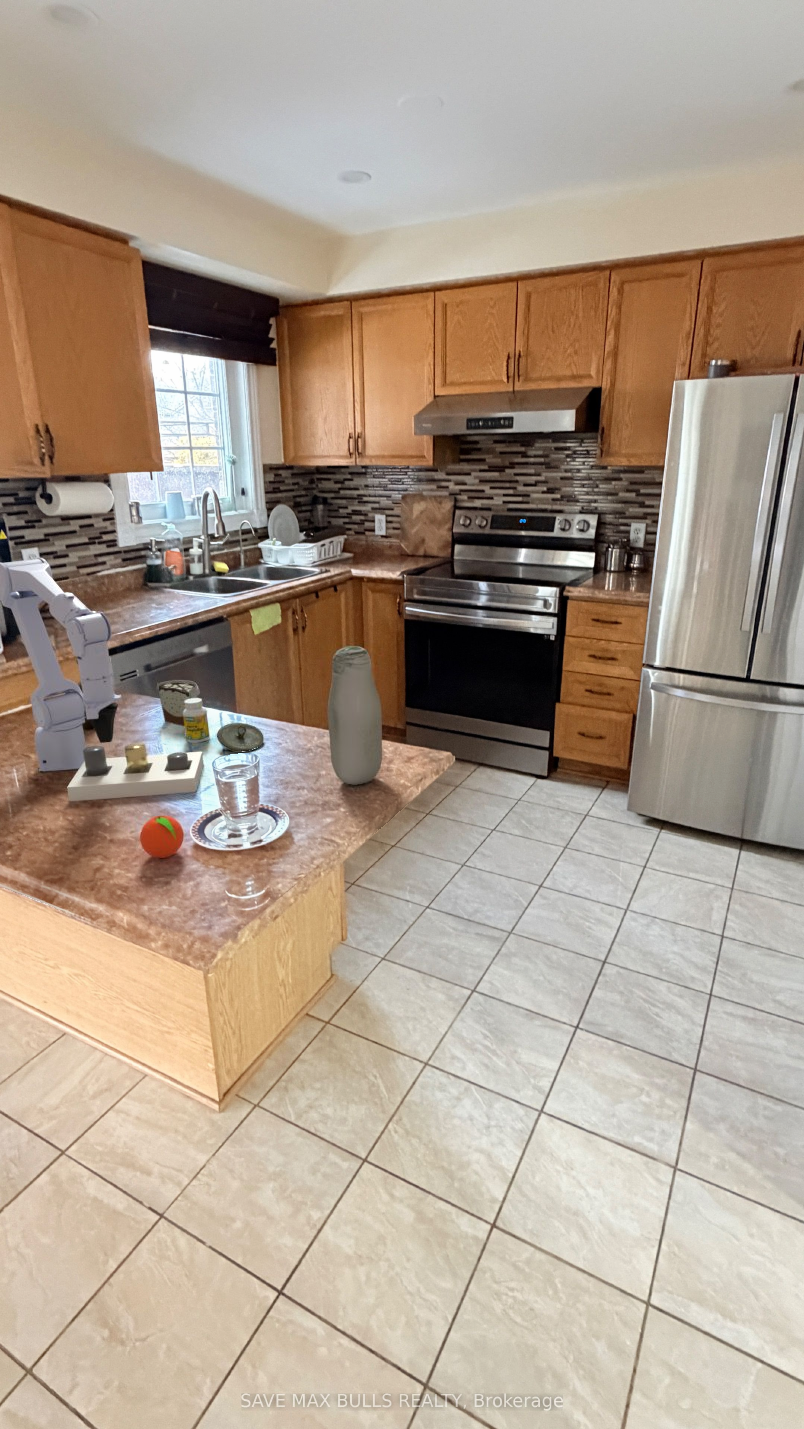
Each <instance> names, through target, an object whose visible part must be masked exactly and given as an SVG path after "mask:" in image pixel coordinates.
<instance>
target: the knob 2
mask: <svg viewBox="0 0 804 1429" xmlns="http://www.w3.org/2000/svg"><path fill="white" fill-rule="evenodd" d="M186 753H187V752H182V751H179V752H173V753H169V754H170V755H168V756H167V761H168V768H169V771H176V770H189V764H188V756H187V754H186Z"/></svg>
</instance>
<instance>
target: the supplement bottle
mask: <svg viewBox="0 0 804 1429" xmlns="http://www.w3.org/2000/svg"><path fill="white" fill-rule="evenodd" d="M184 704H185V707H186V709H185V710H184V711H183V719H184V726H185V727H184V733H185V738H186V741H187V742H188V743H193V744H195V743H196V744H198V743H199V744H200V743H203V742H205V741H208V740H209V739H210V737H211V736H210V728H209V720H208V719H209V718H208V712H207V709H206V707H204V706H203V705H204V704H203V700H202V698H199V697H197V698H191V699H187V700H185V701H184Z"/></svg>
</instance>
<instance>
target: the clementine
mask: <svg viewBox="0 0 804 1429" xmlns="http://www.w3.org/2000/svg"><path fill="white" fill-rule="evenodd" d="M184 833H185V832H184V831H183V827H182V825H181V824H180V822H179V821H178V820H176V819H175V818H174V817H172V816H168V815H161V814H160V815H156V816H153V817H151V818H150V819H149V820H147V821H146V822H145V823H144V825H143V827H142V828H141V831H140V834H139V841H140V844H141V847H142V849H143V850H144V852H146V854H148V855H149V856H151V857H154V858H158V859H164V858H169V857H171V856H172V855H174V854H176V853H177V852H178V851H179V849H180V848H181V847H182V845H183V842H184Z"/></svg>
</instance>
